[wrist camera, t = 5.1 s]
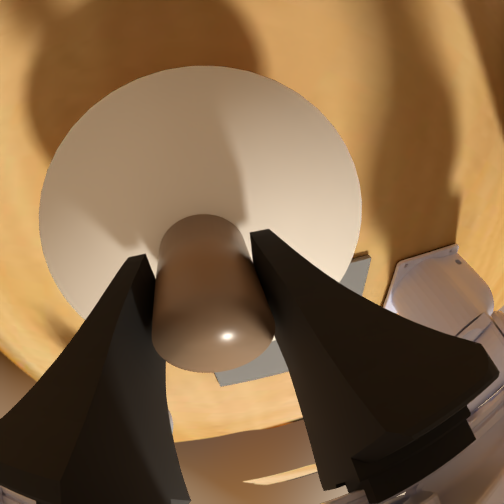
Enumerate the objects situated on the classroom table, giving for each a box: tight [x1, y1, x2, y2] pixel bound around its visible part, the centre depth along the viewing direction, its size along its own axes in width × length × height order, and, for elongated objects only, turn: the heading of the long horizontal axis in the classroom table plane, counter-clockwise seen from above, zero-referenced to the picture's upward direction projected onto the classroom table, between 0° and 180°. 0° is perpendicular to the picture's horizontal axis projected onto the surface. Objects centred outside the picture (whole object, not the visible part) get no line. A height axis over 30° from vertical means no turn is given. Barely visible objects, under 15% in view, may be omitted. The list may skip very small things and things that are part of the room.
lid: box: [39, 66, 362, 373], centre depth 9 cm, size 13×13×5 cm
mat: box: [214, 255, 371, 387], centre depth 25 cm, size 15×15×1 cm
